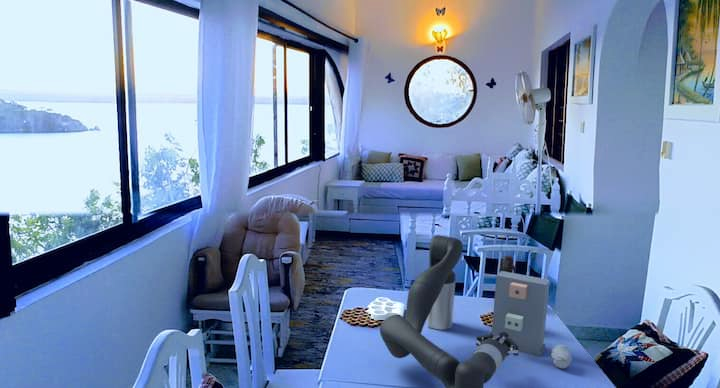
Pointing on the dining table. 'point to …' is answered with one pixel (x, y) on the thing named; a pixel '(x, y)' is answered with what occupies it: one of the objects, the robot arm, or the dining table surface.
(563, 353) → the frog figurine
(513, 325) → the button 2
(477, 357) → the robot arm
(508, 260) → the lantern
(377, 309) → the white bumpy piece
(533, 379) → the dining table surface
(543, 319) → the large grey rectangular box
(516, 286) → the pink rectangular block
